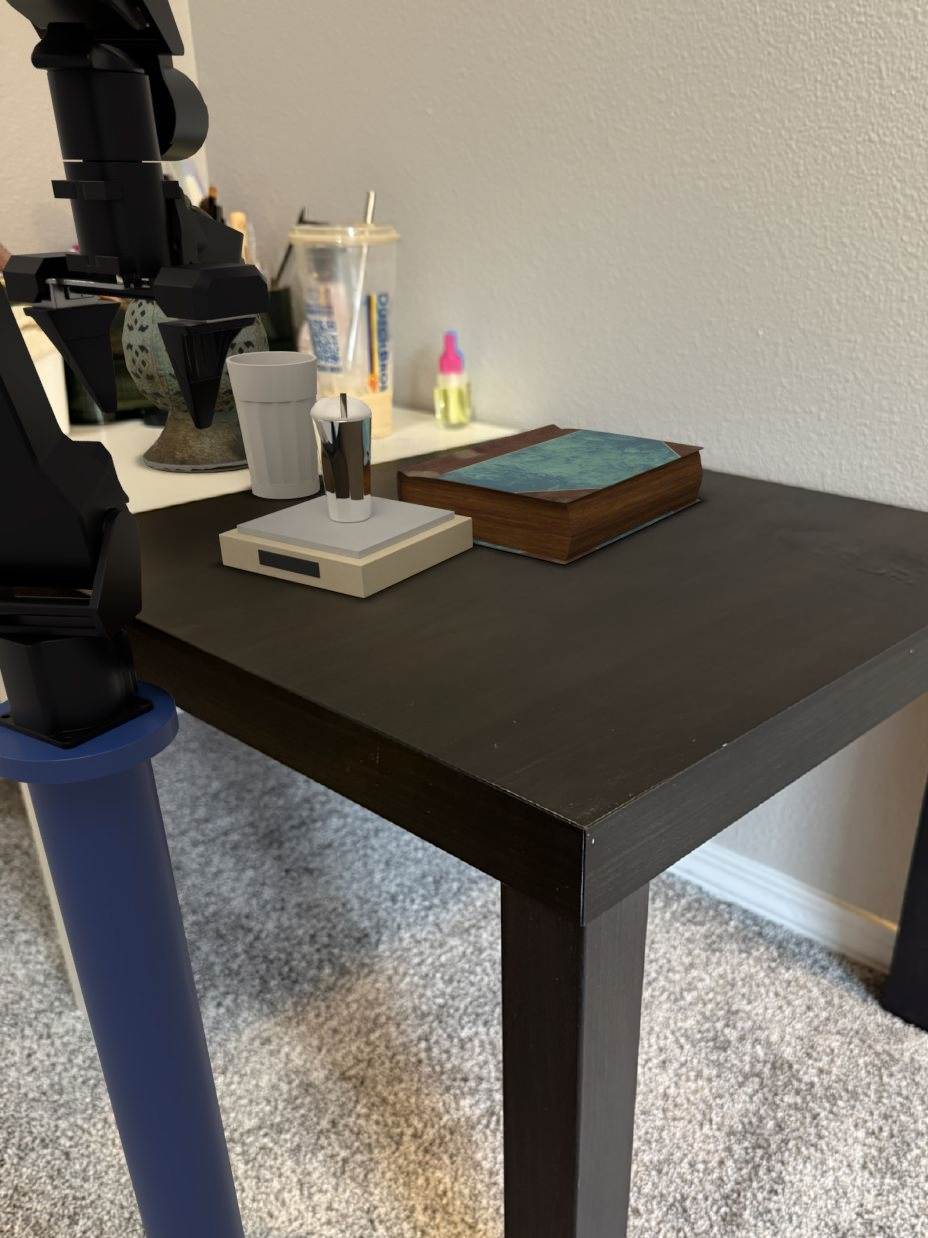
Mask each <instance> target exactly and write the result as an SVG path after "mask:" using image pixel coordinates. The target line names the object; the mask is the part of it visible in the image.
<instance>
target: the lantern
mask: <svg viewBox="0 0 928 1238" xmlns="http://www.w3.org/2000/svg"><path fill="white" fill-rule="evenodd" d="M184 198H185V204H186V207H187V209H188V210H191V211H193V212H195V213H199V214H202V215H205V216H207V217H210V218H212V219H214V218H213V217H212V216H211V215H210V214H209V213H208V212H207V211H206V210H204V209H203V208H201V207H200V206H198V205H194V204H193V202H192V200H191V199H190V198H189V196H188V195H187V194H186V193H184ZM241 264H246V260H245V259H244V257H242V256H241ZM144 279H148V278H144ZM143 287H148V288H150V287H149V286H145V285H143ZM251 315H253V316H257V319H256V322H255V324H254V325H253V326H248V327H244V328H243V329H242V331H241V332H240V333H239V334H238V336H237V337H236V338H235V339H234V341H233V342H232V343H231V345H230V348H229V351H228V354H227V357H226V359H227V358H228V357H231V356H234V355H238V354H245V353H253V352H270V347H269V340H268V333H267V331H266V329H265V326H264V323H263V321H262V318H261V315H260V313H258V314H251ZM175 320H181V319H178V318H168V317H166V315H165V314H164V313H163V312H162V310H161V309H160V308H159V306H158V305H157V304H156V301H149V300H138V299H131V301H130V303H129V304H128V306H127V308H126V311H125V316H124V322H123V330H122V337H121V343H122V349H123V354H124V359H125V360H124V361H125V365H126V369H127V371H128V373H129V374H130V377H131V378H132V380H133V382H134V384H135V386H136V387H137V389H138V391H139V393H140V394H142V395H143V396H144V397H145V398H146V399H148V401H150V402H151V403H152V404H154V406H156V407H157V408H158V409H159V410H162V411H163V410H165V411H168V413H167V418H166V422H165V425H164V427H163V429H162V431H161V432H160V435H159V436H158V437H157V439H156V440H155V441H154V443H152V445H151V446H150V447H148V448H147V450H145V452H144V453H143V455H142V459H143V462H144V464H145V466H147V467H150V468H151V469H152V468H153V469H155V470H160V471H166V472H171V473H195V474H196V473H217V472H227V471H235V470H242V469H247V468H249V466H248V461H247V457H246V452H245V447H244V442H243V437H242V432H241V427H240V422H239V417H238V412H237V407H236V402H235V397H234V395H233V390H232V386H231V381H230V376H229V372H228V367H227V363H226V361H225V364H224V368H223V372H222V376H221V382H220V387H219V392H218V397H217V402H216V407H215V412H214V416H213V421H212V425H211V427H209V428H206V429H197V428H196V427H195V425H194V423H193V421H192V419H191V416H190V414H189V412H188V410H187V407H186V404H185V402H184V399H183V396H182V393H181V390H180V387H179V385H178V382H177V379H176V376H175V373H174V370H173V368H172V365H171V362H170V359H169V356H168V354H167V351H166V348H165V345H164V343H163V340H162V337H161V334H160V331H159V328H158V325H157V323H160V322H167V321H175Z"/></svg>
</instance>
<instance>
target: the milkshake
mask: <svg viewBox="0 0 928 1238" xmlns="http://www.w3.org/2000/svg"><path fill="white" fill-rule="evenodd" d="M310 414H311V419H312V425H313V430H314V435H315V440H316V445H317V453H318V457H319V463H320V468H321V473H322V480H323V485H324V493H325V495H326V499H327V505H328V511H329V516H330V519H331V520H333V521H337V522H344V523H353V522H360V521H364V520H366V519H368V518H370V517H371V496H372V431H373V430H372V427H373V425H372V424H373V423H372V422H373V411H372V408H371V407H370V405H368V404H367V403H366V402H365V401H363V400H362V399H360V398H357V397H354V396H348V395H347V393H346V392H339V395H338V396H334V397H328V396H327V397H326V396H325V397H321V398H320V399H319V400H316V403H315V404H314V406H313V407H312V409H311V411H310Z"/></svg>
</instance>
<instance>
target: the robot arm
mask: <svg viewBox="0 0 928 1238" xmlns="http://www.w3.org/2000/svg"><path fill="white" fill-rule="evenodd" d="M5 2H6V3H7V4H8V5H9V6H10V7H12V9H14V10H15V11H16V12H18V13H19V14H20V15H22V16H23V17H24V18H25V19H27V20H28V22H30V24H31V25H32V27H33V29H34V31H35V33H36V34H37V36H38V37H39V39H40V40H39V41H38V42H37V43H36V44H35V45H34V47H33V50H32V52H31V53H30V54H31V55H30V62H31V65H32V66H33V68H34V69H37V70H43V71H46V77H47V82H48V88H49V95H50V99H51V105H52V110H53V114H54V121H55V126H56V132H57V136H58V142H59V147H60V154H61V158H62V160H63V161H62V164H63V170H64V175H65V179H51V180H50V182H51V187H52V193H53V198H54V199H58V200H59V199H61V200H63V199H65V200H69V201H70V207H71V212H72V218H73V223H74V228H75V234H76V239H77V240H76V241H77V246H78V250H79V251H69V250H68V251H52V252H39V253H38V252H37V253H25V254H11V255H10V256H9V258H8V260H7V262H6V264H5V265H4V267H3V269H2V272H1V273H2V276H3V281H4V285H5V286H3V284H2V282H1V280H0V675H1V679H2V683H3V687H4V690H5V694H6V698H7V700H8V702H9V706H10V710H11V711H8V712H6V713H4V714H1V715H0V726H1V727H4V728H7V729H9V730H12V731H15V732H17V733H20V734H23V735H26V736H28V737H31V738H34V739H36V740H39V741H42V742H44V743H47V744H50V745H52V746H55V747H58V748H60V749H64V750H68V749H73V748H75V747H77V746H79V745H82V744H84V743H86V742H88V741H90V740H92V739H94V738H96V737H98V736H100V735H102V734H104V733H106V732H109V731H111V730H113V729H115V728H117V727H119V726H121V725H123V724H125V723H127V722H129V721H131V720H133V719H136V718H138V717H140V716H142V715H144V714H146V713H148V712H150V711H152V710H153V709H154V704H153V701H152V700H149V699H146V698H143V697H140V696H137V695H135V693H137V692H138V690H139V686H138V681H137V679H138V678H137V671H136V666H135V661H134V660H135V659H134V656H133V655H134V654H133V651H132V646H131V641H130V636H129V635H130V634H129V632H128V631H127V630H126V629H124V628H125V627H126V626H127V625H128V624H129V623H130V622H132V620H134V619H135V618H136V617H137V616H138V615H139V614H140V613H141V612H142V610H143V588H142V587H143V586H142V585H143V584H142V581H143V580H142V544H141V543H142V542H141V533H140V528H139V524H138V522H137V520H136V517H135V516H134V514H133V513H132V512H131V511H130V509H129V507H128V504H129V503H130V497H129V495H128V494H127V492H126V491H125V490H124V487H123V486H122V484H121V482H120V479H119V476H118V473H117V470H116V466H115V463H114V459H113V456H112V454H111V452H110V451H109V450H108V449H107V447H106V446H105V444H104V443H102V442H101V440H100V441H99V440H73V439H72V438H71V437H70V436H68V435H67V434H66V433H65V432H63V430H62V428H61V426H60V424H59V421H58V420H57V417H56V414H55V412H54V410H53V407H52V404H51V402H50V400H49V397H48V395H47V392H46V390H45V387H44V385H43V381H42V380H41V378H40V375H39V373H38V370H37V368H36V365H35V363H34V360H33V358H32V355H31V353H30V351H29V348H28V345H27V343H26V341H25V338H24V335H23V333H22V330H21V328H20V326H19V323H18V321H17V318H16V316H15V313H14V311H13V309H12V306H11V304H10V302H15V303H26V304H31V306H24V307H22V311H23V314H24V316H25V317H30V318H31V319H32V320H33V321H34V323H36V324H37V326H38V327H39V329H40V330H41V331H42V332H43V334H44V335H45V336H46V337H47V339H48V340H49V341H50V342H51V344H52V345H53V346H54V347H55V349H56V350H57V352H58V354H60V356H61V357H62V358H63V359H64V361H65V362H66V364H67V365H68V366H69V368H70V369H71V371H72V372H73V374H74V375H75V377H76V378H77V379H78V381H79V382H80V383H81V385H82V387H83V388H84V389H85V391H86V393H88V395H89V397H90V398H91V399H92V401H93V402H94V404H95V405H96V407H97V409H99V411H100V412H101V413H102V414H105V415H109V414H114V413H116V412H117V411H118V389H117V379H116V371H115V362H114V355H113V347H112V337H111V328H112V326H113V323H114V321H115V319H116V317H117V314H118V312H119V311H120V308H121V305H122V303H121V302H119V301H112V300H111V301H110V300H100V299H99V298H98V296H99V297H107V298H108V297H110V298H118V299H119V298H120V299H129V300H132V299H138V300H149V301H156V304H157V305H158V306H159V308H160V309H161V310H162V312H163V313H164V314H165V315H166V317H168V318H178V319H181V320H175V321H167V322H160V323H157V325H158V328H159V331H160V334H161V337H162V340H163V343H164V345H165V348H166V351H167V354H168V356H169V359H170V362H171V365H172V368H173V370H174V373H175V376H176V379H177V382H178V385H179V387H180V390H181V393H182V396H183V399H184V402H185V404H186V407H187V410H188V412H189V414H190V416H191V419H192V421H193V423H194V425H195V427H196V428H197V429H206V428H209V427H211V425H212V421H213V416H214V412H215V407H216V402H217V397H218V392H219V387H220V382H221V376H222V372H223V368H224V364H225V361H226V357H227V354H228V351H229V348H230V345H231V343H232V342H233V341H234V339H235V338H236V337H237V336H238V334H239V333H240V332H241V331H242V329H243V328H244V327H248V326H253V325H254V324H255V322H256V319H257V316H253V315H251V314H258V313H259V314H264V313H270V312H271V306H270V304H271V303H270V297H269V288H268V287H269V286H268V280H267V278H266V276H265V275H264V274H263V273H262V271H260V270H259V268H258V267H257V266H256V264H252V263H251V264H250V263H245V264H241V257H242V256H243V247H244V237H245V234H244V233H243V232H242V231H239V230H238V229H235V228H234V227H231V226H229V225H227V224H225V223H223V222H220V221H218V220H216V219H214V218H213V217H212V218H213V219H212V218H210V217H207V216H205V215H202V214H199V213H195V212H193V211H191V210H188V209H187V207H186V204H185V198H184V194H185V192H184V189H183V188H182V186H180V181H179V180H169V179H167V180H166V179H165V177H164V171H163V165H162V162H181V161H185V160H188V159H190V158H191V157H193V156H194V155H196V154H197V153H198V152H199V151H200V150H201V149H202V147H203V146H204V143H205V141H206V139H207V138H208V132H209V128H210V115H209V109H208V105H207V104H206V102H205V100H204V98H203V95H202V93H201V91H200V90H199V88H198V87H197V85H196V83H195V82H194V81H193V80H192V79H191V78H190V77H189V76H188V75H187V74H185V73H184V72H182V71H181V70H180V69H177V68H175V67H174V60H173V57H183V56H185V45H184V42H183V39H182V36H181V34H180V30H179V28H178V25H177V22H176V19H175V16H174V13H173V10H172V7H171V4H170V1H169V0H5ZM117 276H121V279H122V281H118V277H117ZM144 278H148V279H144ZM143 285H145V286H149V287H150V288H148V287H143ZM4 287H5V289H4ZM5 290H6V291H5ZM17 588H18V589H19V588H20V589H44V590H45V589H51V590H77V591H79V590H81V591H91V595H90V597H89V598H88V597H58V596H31V595H29V596H27V595H15V589H17Z"/></svg>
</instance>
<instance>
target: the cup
mask: <svg viewBox="0 0 928 1238" xmlns="http://www.w3.org/2000/svg"><path fill="white" fill-rule="evenodd" d="M226 363H227V367H228V372H229V376H230V381H231V386H232V390H233V395H234V397H235V402H236V407H237V412H238V417H239V422H240V427H241V432H242V437H243V442H244V447H245V452H246V457H247V461H248V466H249V467H248V471H249V476H250V484H251V492H252V494H253V495H254V496H257V497H259V498H264V499H272V500H288V499H290V500H291V499H298V498H304V497H305V498H306V497H308V496H313V495H314V494H317V493H319V491H320V490H321V486H320V485H321V483H320V474H319V460H318V459H319V458H318V457H319V453H318V449H317V445H316V440H315V435H314V430H313V425H312V419H311V414H310V411H311V409H312V407H313V406H314V404H315V403H316V402H317V395H318V358H317V356H316V355H315V354H311V353H307V352H299V351H286V350H285V351H284V350H283V351H277V350H276V351H275V350H274V351H269V352H253V353H245V354H238V355H234V356H231V357H228V358H227V359H226Z"/></svg>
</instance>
